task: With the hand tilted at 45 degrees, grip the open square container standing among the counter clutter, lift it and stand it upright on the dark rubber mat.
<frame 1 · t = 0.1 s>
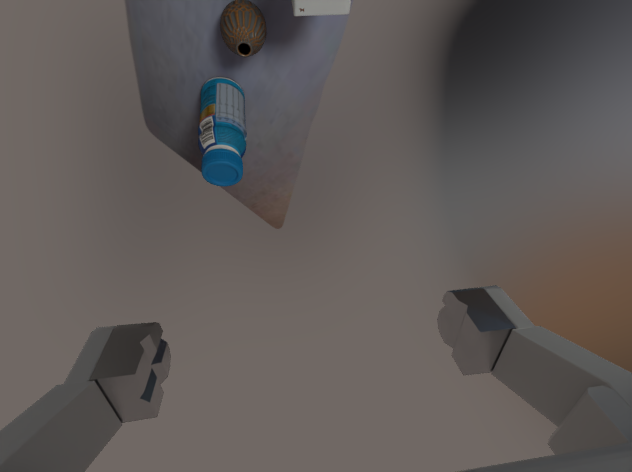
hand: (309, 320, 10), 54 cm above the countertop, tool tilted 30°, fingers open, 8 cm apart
beverage bottle: (223, 93, 65), on the countertop
vase: (243, 14, 53), on the countertop
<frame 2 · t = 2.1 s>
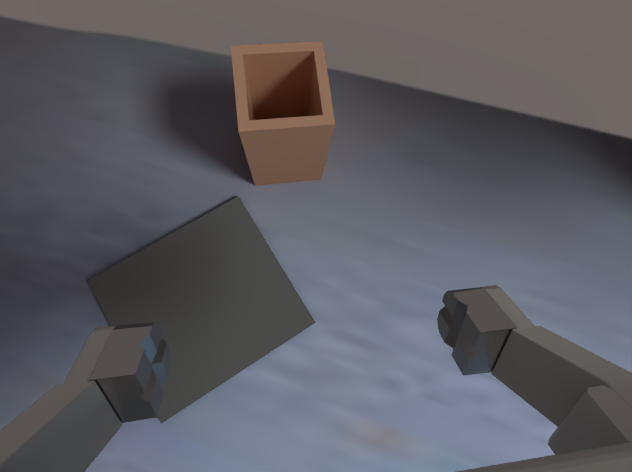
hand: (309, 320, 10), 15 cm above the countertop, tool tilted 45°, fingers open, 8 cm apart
mat: (203, 301, 24), on the countertop
open square container: (284, 151, 27), on the countertop
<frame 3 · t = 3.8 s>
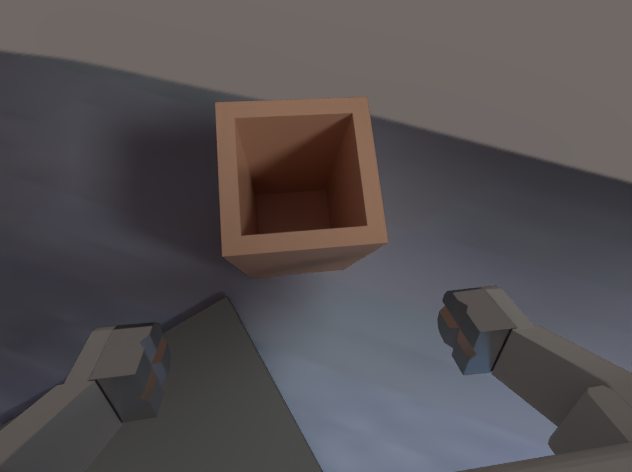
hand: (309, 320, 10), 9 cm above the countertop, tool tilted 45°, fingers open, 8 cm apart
mat: (170, 458, 16), on the countertop
open square container: (294, 228, 19), on the countertop
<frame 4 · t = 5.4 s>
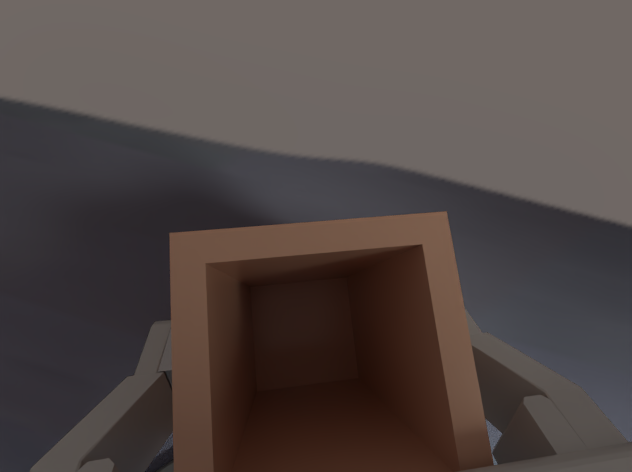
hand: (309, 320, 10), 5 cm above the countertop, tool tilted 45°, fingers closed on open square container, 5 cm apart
open square container: (302, 330, 14), on the countertop, touching gripper
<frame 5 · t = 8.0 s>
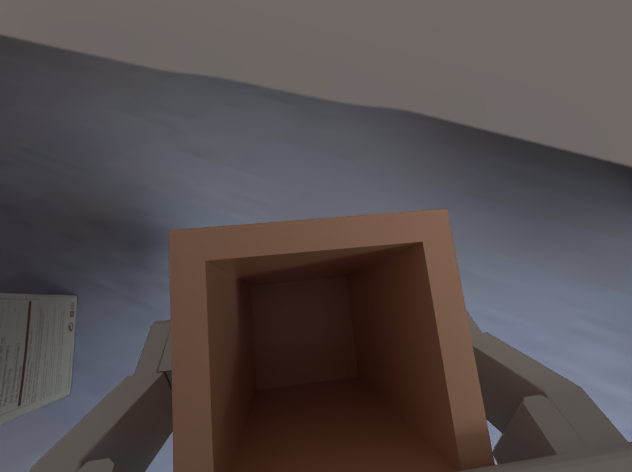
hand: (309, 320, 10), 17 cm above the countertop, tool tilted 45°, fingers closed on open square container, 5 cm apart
supplement box: (27, 347, 25), on the countertop
open square container: (302, 329, 14), point 13 cm above the countertop, touching gripper
when the fingers open (6 cm above the countertop, at t = 10.6 s): open square container stays where it is, resting on mat.
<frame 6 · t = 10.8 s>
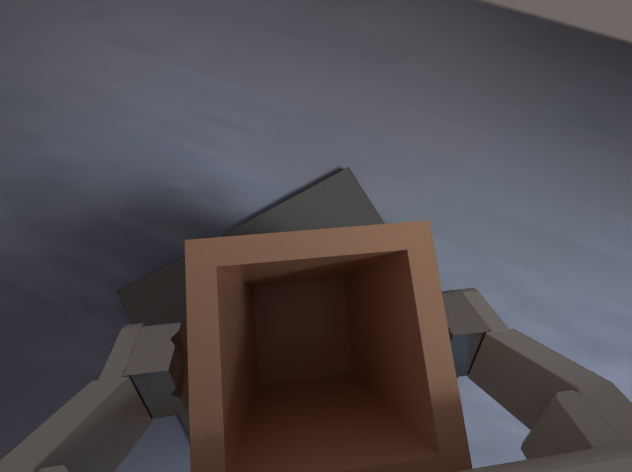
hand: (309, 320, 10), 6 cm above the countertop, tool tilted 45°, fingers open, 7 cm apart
mat: (300, 328, 15), on the countertop
open square container: (302, 328, 15), resting on mat
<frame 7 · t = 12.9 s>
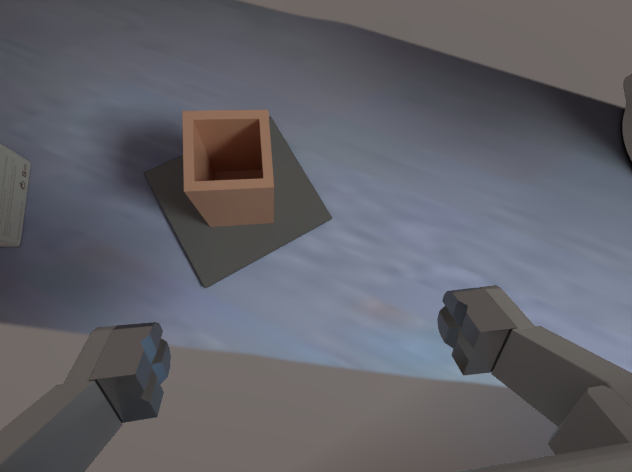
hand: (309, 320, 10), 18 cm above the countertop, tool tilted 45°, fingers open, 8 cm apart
mat: (240, 197, 29), on the countertop
open square container: (240, 195, 28), resting on mat
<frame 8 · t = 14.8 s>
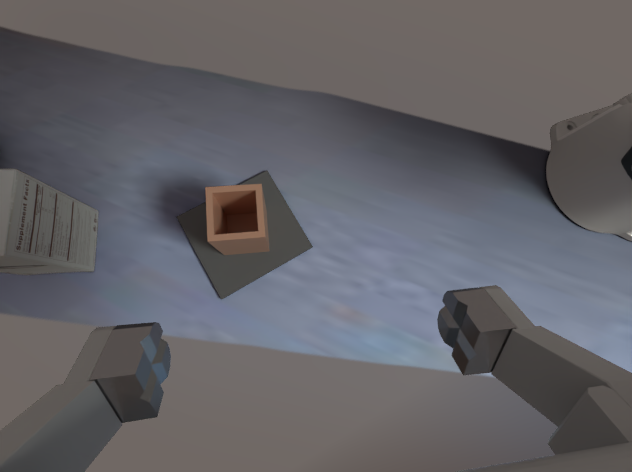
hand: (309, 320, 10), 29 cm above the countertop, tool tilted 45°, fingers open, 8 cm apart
mat: (245, 232, 40), on the countertop
supplement box: (65, 242, 38), on the countertop
open square container: (245, 231, 39), resting on mat
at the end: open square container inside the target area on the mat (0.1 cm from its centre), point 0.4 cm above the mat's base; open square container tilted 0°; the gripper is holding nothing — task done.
